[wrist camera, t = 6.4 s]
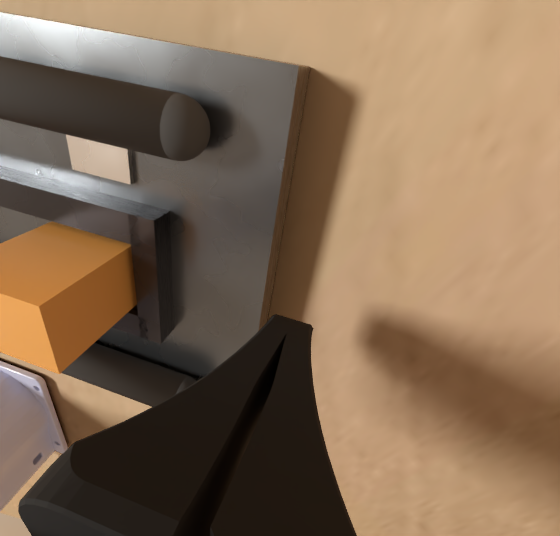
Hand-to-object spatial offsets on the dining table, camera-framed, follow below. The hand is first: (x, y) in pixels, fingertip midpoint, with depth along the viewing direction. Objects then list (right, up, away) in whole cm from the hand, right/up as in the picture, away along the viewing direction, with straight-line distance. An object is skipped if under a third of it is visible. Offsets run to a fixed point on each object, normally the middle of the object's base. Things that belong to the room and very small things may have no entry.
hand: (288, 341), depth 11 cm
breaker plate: (-12, +5, +5) cm, 14 cm away
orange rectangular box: (-8, +3, +3) cm, 9 cm away
